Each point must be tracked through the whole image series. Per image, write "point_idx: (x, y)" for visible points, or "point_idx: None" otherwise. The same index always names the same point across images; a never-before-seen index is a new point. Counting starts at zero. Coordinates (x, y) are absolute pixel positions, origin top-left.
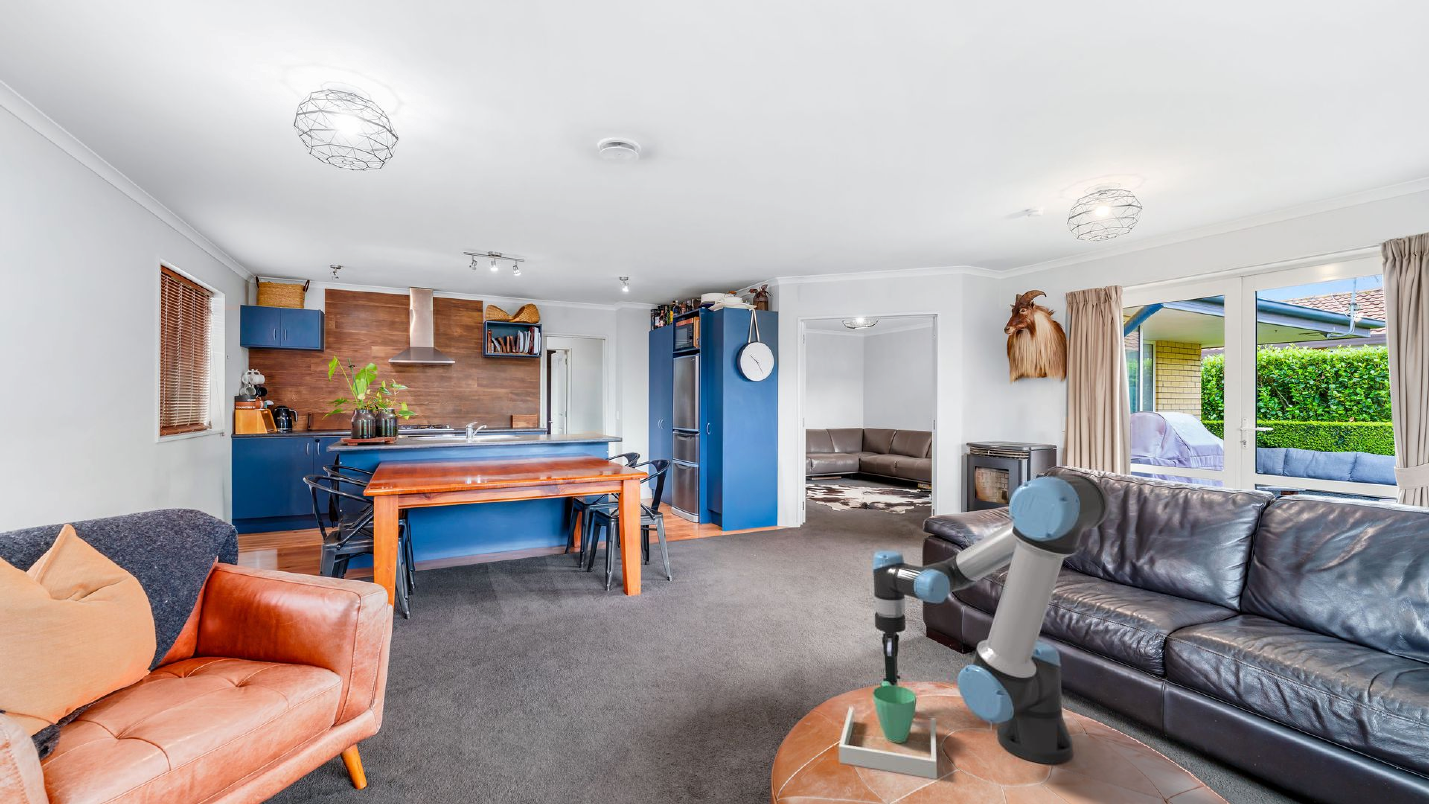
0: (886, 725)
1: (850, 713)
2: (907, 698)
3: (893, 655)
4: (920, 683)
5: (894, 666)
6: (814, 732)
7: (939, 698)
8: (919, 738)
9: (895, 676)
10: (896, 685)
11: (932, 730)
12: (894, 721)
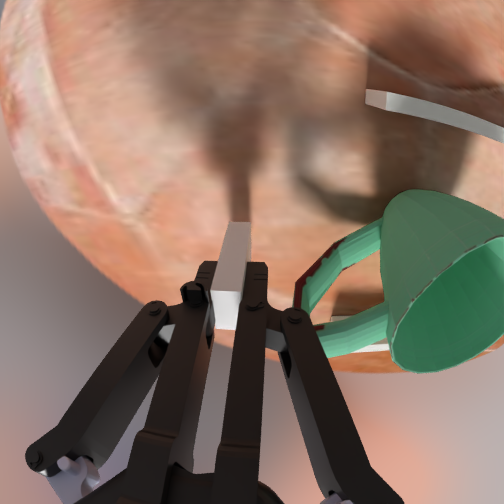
0: (460, 272)
1: (373, 347)
2: (425, 244)
3: (385, 485)
4: (23, 168)
5: (346, 408)
6: (381, 361)
7: (76, 93)
8: (406, 149)
9: (321, 346)
10: (243, 284)
11: (472, 126)
12: (487, 264)
